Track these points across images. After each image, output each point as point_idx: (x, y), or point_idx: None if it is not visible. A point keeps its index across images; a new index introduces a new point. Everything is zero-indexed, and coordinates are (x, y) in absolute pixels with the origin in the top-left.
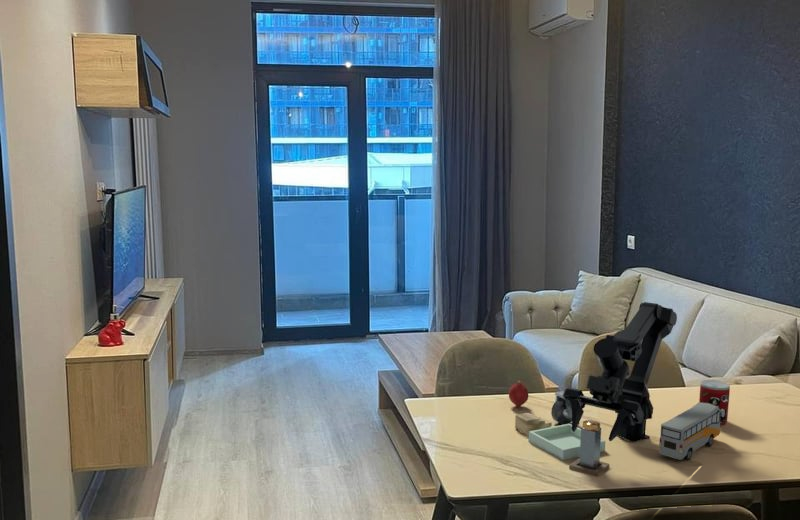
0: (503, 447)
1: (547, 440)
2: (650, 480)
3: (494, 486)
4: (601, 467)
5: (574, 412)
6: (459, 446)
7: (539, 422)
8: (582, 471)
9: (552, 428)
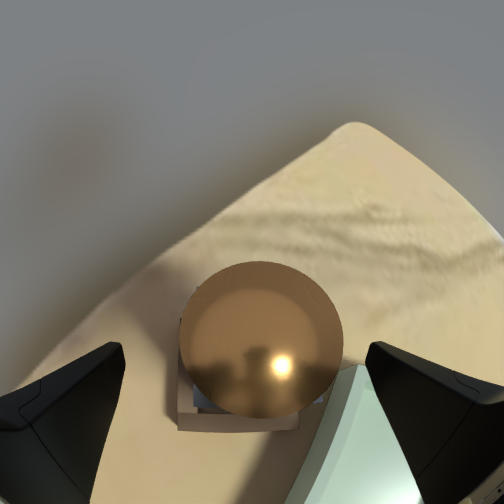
0: (474, 327)
1: None
2: None
3: (347, 154)
4: (187, 378)
5: (464, 383)
6: (496, 266)
7: None
8: None
9: None
